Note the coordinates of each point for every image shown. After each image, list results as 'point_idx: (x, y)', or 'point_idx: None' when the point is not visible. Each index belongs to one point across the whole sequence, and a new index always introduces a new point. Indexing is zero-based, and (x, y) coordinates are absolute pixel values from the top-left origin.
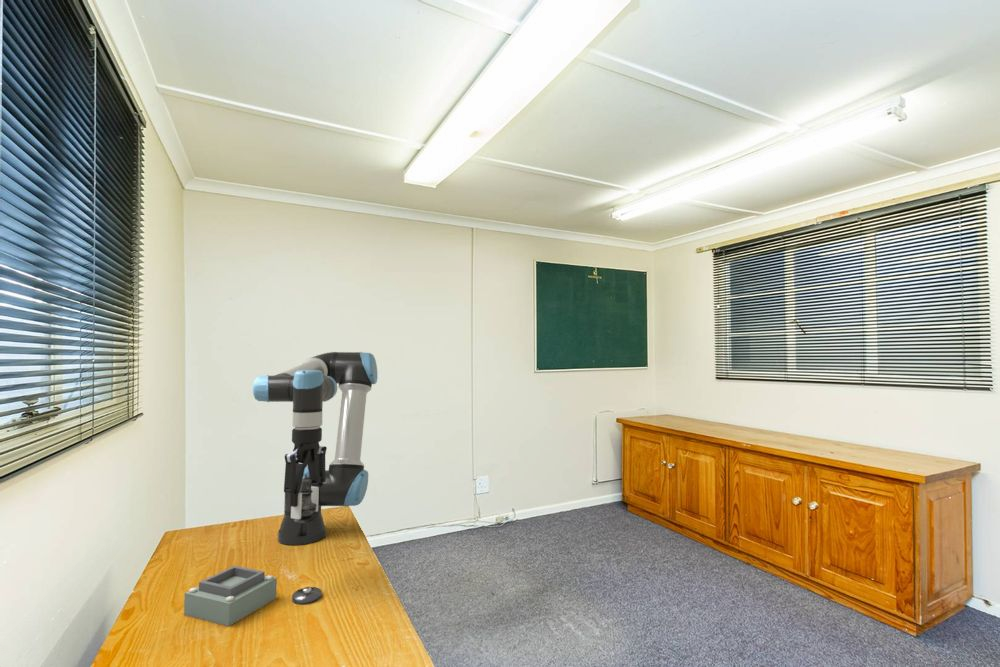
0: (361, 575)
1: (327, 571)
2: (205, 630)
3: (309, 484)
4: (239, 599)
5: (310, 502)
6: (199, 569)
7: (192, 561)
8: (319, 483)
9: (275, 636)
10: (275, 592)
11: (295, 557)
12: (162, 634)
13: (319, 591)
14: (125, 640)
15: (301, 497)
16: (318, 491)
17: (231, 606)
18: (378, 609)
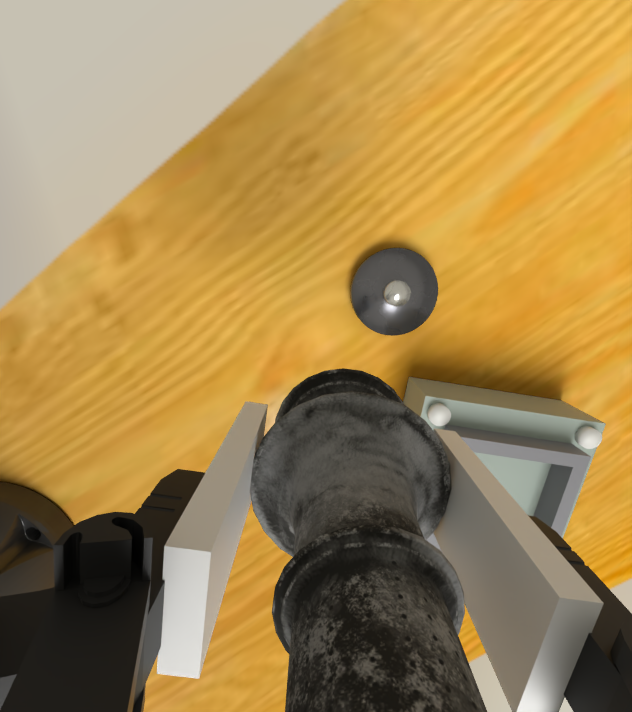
0: (211, 195)
1: (216, 327)
2: None
3: (428, 685)
4: (568, 416)
5: (359, 457)
6: None
7: (259, 697)
8: (112, 596)
9: (603, 252)
10: (416, 382)
11: (154, 478)
12: (600, 514)
13: (375, 261)
14: (625, 563)
15: (529, 547)
16: (194, 500)
17: (589, 417)
18: (429, 3)
